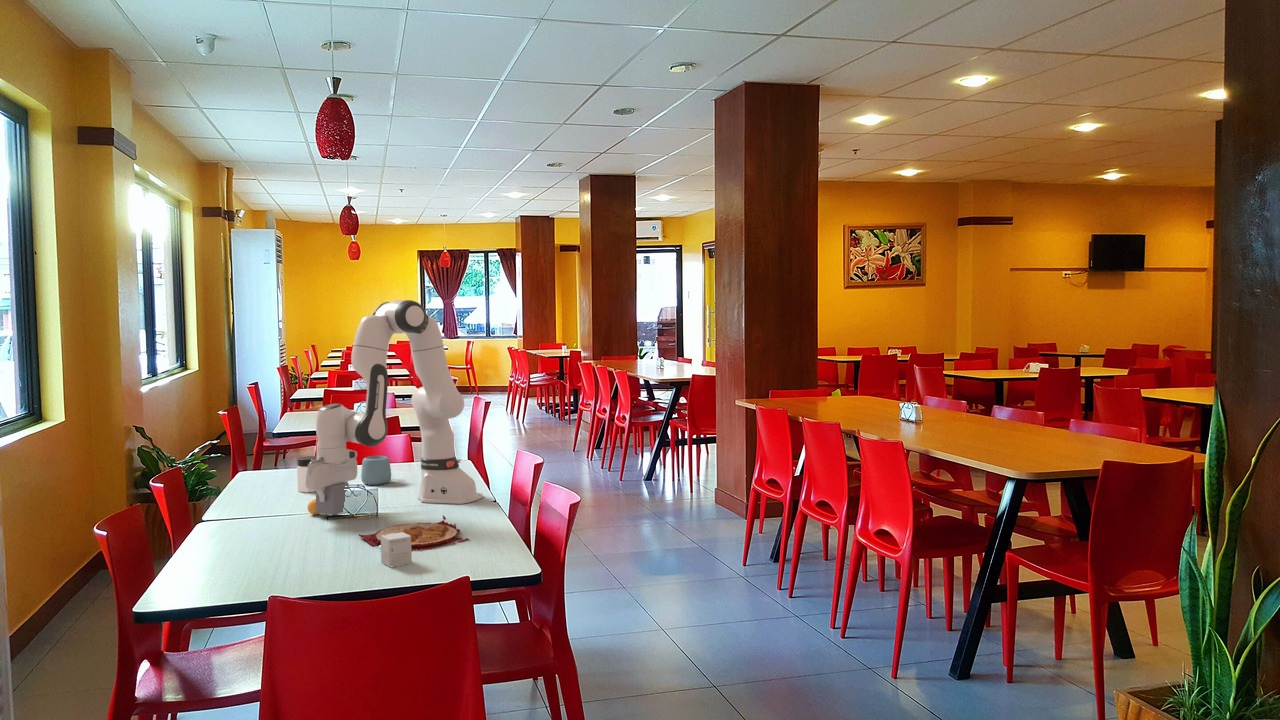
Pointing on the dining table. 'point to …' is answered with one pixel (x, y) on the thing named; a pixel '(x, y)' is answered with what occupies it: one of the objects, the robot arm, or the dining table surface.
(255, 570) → the dining table surface
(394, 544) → the product box
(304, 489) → the jar
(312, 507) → the ball
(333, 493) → the gray block
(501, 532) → the dining table surface
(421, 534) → the plate with food
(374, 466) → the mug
